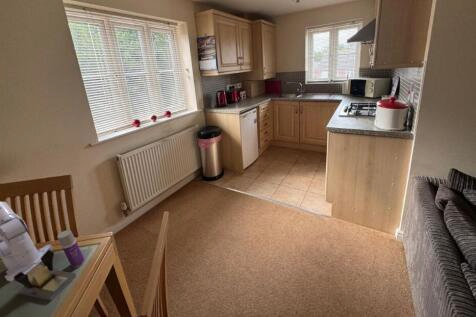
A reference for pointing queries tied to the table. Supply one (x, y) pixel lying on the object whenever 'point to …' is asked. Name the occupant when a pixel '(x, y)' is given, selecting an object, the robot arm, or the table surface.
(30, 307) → the table surface
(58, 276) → the rail plate
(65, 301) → the table surface
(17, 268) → the robot arm
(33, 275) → the tan rectangular block
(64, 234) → the container
